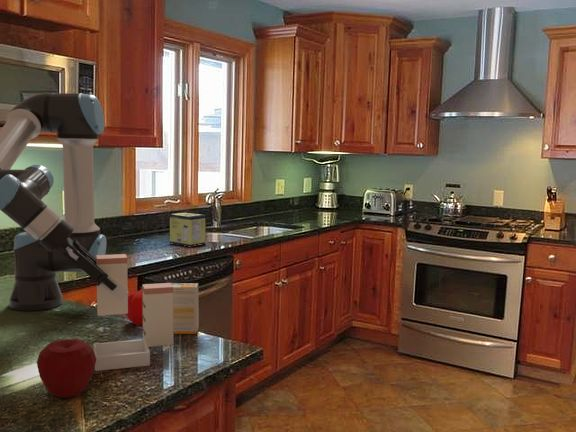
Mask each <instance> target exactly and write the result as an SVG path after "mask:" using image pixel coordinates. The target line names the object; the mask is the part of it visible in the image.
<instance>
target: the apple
mask: <svg viewBox="0 0 576 432" xmlns="http://www.w3.org/2000/svg"><path fill="white" fill-rule="evenodd" d="M95 363H96V356H95V353H94V348H93V347H92V346H91V345H89V344H88V343H86V341H83V340H82V339H78V338H72V339H71V338H69V339H67V338H66V339H59V340H54V341H52V342H49V343H48V344H47V345H46V346H45V347H44V348H43V349H42V350H41V351H40V352H39V355H38V358H37V360H36V366H37V370H38V374H39V378H40V380H41V382H42V384H43V385H44V387H45V388H46V391H47V392H48V393H50V394H51V395H53V396H54V397H58V398H60V399H70V398H75V397H77V396H78V395H80V394H81V393H83V391H85V389H86V388H87V387H88V385H89V383H90V381H91V379H92V377H93V374H94V371H95Z"/></svg>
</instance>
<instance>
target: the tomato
mask: <svg viewBox="0 0 576 432" xmlns="http://www.w3.org/2000/svg"><path fill="white" fill-rule="evenodd" d="M142 300H143V290H142V286H140V289H139V290H137V291H133V292H131V293H129V294H128V314H125V315H126V317H127V318H128V320H129V321H130V322H131V323H132V324H134V325H136V326H139V327H143V317H142V313H143V304H142Z"/></svg>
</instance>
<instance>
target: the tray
mask: <svg viewBox="0 0 576 432" xmlns="http://www.w3.org/2000/svg"><path fill="white" fill-rule="evenodd" d="M93 351H94V353H95V356H96V363H95V367H94V371H95V372H98V371H107V370H119V369H126V368H127V369H128V368H136V367H137V368H139V367H147V366H151V351H150V347H148V345H147V342H146V339H143V338H142V339H131V340H120V341H118V340H117V341H107V342H99V343H97V342H96V343H95V342H94V343H93Z"/></svg>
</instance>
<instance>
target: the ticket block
mask: <svg viewBox="0 0 576 432" xmlns="http://www.w3.org/2000/svg"><path fill="white" fill-rule="evenodd" d="M171 283H172V282H165V283H164V282H163V283H162V282H160V283H145V284H141V285H142V286H141V287H142V290H143V300H142V304H143V313H142V317H143V326H141V327H142V328H141V329H142V339H146V342H147V345H148V348H150V347H151V348H152V347H153V348H154V347H161V346H162V347H163V346H173V345H174V334H173V286H172V284H171Z"/></svg>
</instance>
